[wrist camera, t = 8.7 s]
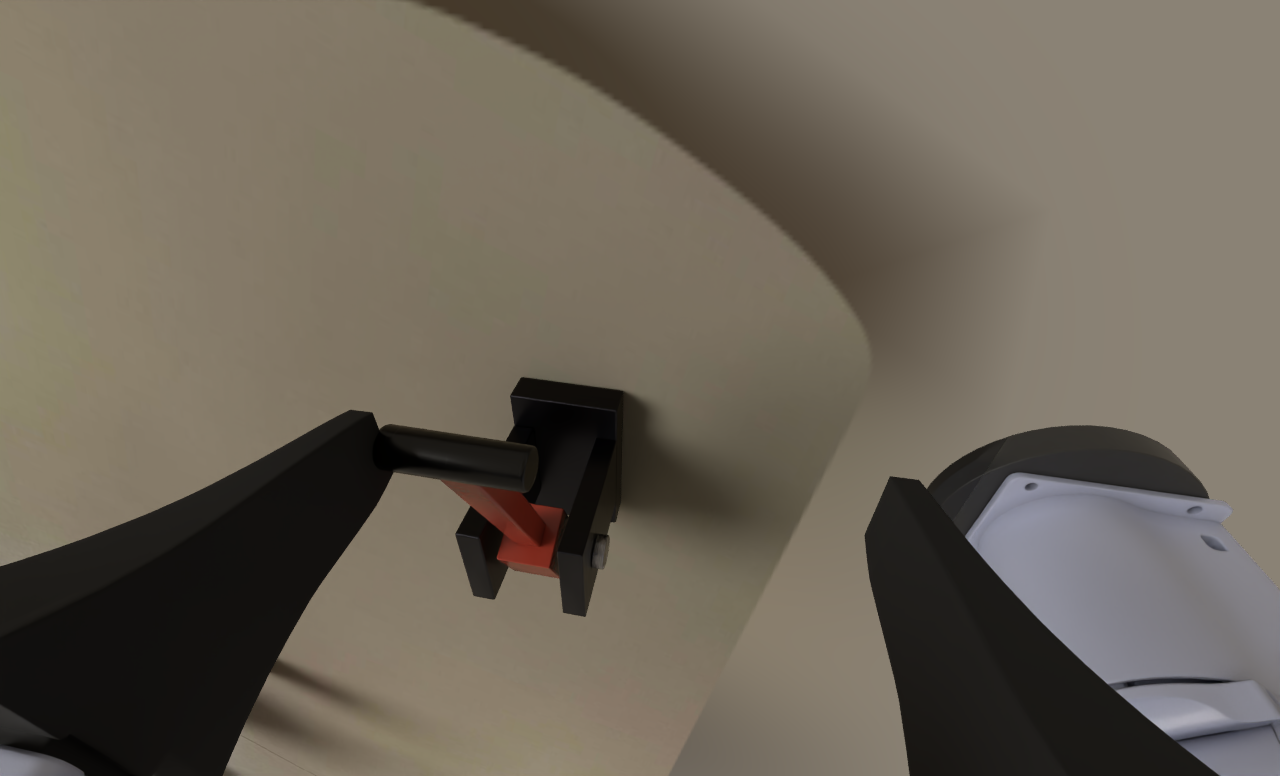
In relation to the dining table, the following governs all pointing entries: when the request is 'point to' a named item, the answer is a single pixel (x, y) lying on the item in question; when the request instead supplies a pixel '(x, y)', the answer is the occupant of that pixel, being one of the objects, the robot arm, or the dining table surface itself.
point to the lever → (483, 487)
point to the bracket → (559, 484)
